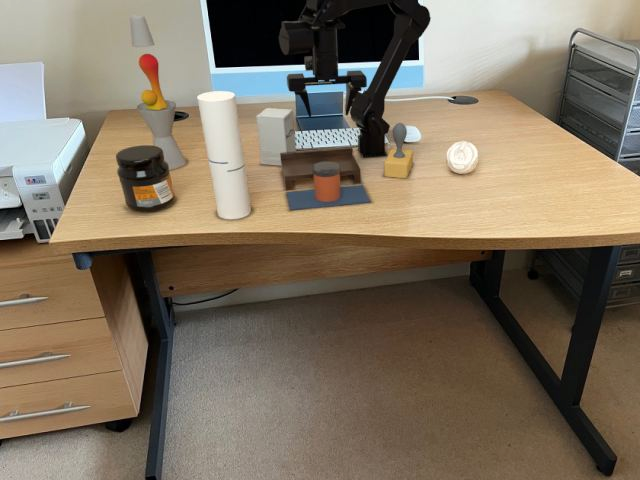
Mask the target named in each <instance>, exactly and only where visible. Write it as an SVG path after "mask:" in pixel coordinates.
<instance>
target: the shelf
mask: <svg viewBox="0 0 640 480" xmlns="http://www.w3.org/2000/svg"><path fill="white" fill-rule="evenodd" d="M353 152H354V150H353V147H352V146H350V147H349V146H348V147H347V146H346V147H336V148H323V149H311V150H296V152H284V153H280V158H281V167H280V168H281V174H282V178H283V183H284V188H285V190H286V191H290V190H291V191H292V190H293V189H294V187H293V181H299V180H309V179H313V172H312V166H313V165H314V164H316V163H319V162H335V163H337V164H339V165H340V177H345V176H350V178H351V180H352V183H353V184H354V185H356V184H361V181H362V179H361V177H362V176H361V175H362V174H361V168H360V165H359V164H358V162H357V160H356V158H355V156H354V153H353Z"/></svg>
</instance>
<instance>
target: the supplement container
mask: <svg viewBox="0 0 640 480" xmlns="http://www.w3.org/2000/svg"><path fill="white" fill-rule="evenodd" d="M164 159H165V158H164V153H163V150H162V149H161V148H160V147H157V146H153V144H152V145H150V144H143V145H134V146H130V147H126V148H123V149H121V150H119V151H118V152H117V153H116V154H115V160H116V163H117V166H118V168H117V170H116V173H117V176H118V178H119V182H120V187H121V189H122V193H123V196H124V202H125V205H126V207H127V208H128V209H129V210H131V211H133V212H136V213H156V212H160V211H163V210H165V209H167V208H169V207H171V205H172V204H174V202H175V200H176V194H175V190H174V185H173V182H172V176H171V173H170V170H169V165H168V163H167V162H166V161H165V160H164Z"/></svg>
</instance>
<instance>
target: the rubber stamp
mask: <svg viewBox="0 0 640 480" xmlns="http://www.w3.org/2000/svg"><path fill="white" fill-rule="evenodd" d="M407 134H408V130H407V127H406V125H405V124H404V123H402V122H398V123H396V124H395V125H393V128H392V136H393V140H394V142H395V145H396V148H391V149H390V151H389V153H388V154H387V157H386V159H385V161H384V163H383V176H384V177H386V178H387V177H388V178H398V179H406V178H408V176H409V173H410V171H411V168H412V167H413V166H412V165H413V163H414V151H413V150H412V149H403V146H404V143H405V140H406V138H407Z"/></svg>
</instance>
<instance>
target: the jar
mask: <svg viewBox="0 0 640 480" xmlns="http://www.w3.org/2000/svg"><path fill="white" fill-rule="evenodd" d="M312 172H313V178H312V179H313V190H314V196H315V199H316V200H318V201H322V202H332V201H336V200H338V199H339V198H340V197H341V188H340V187H341V176H340V165H339V164H337V163H335V162H319V163H316V164H314V165H313V166H312Z"/></svg>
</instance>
